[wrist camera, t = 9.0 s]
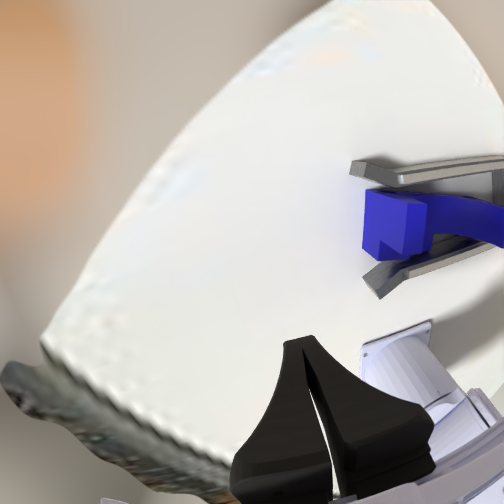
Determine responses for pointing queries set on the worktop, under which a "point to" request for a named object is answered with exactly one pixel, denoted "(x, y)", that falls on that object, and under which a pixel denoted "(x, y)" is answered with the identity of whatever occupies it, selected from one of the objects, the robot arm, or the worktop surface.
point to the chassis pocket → (442, 252)
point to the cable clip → (425, 221)
